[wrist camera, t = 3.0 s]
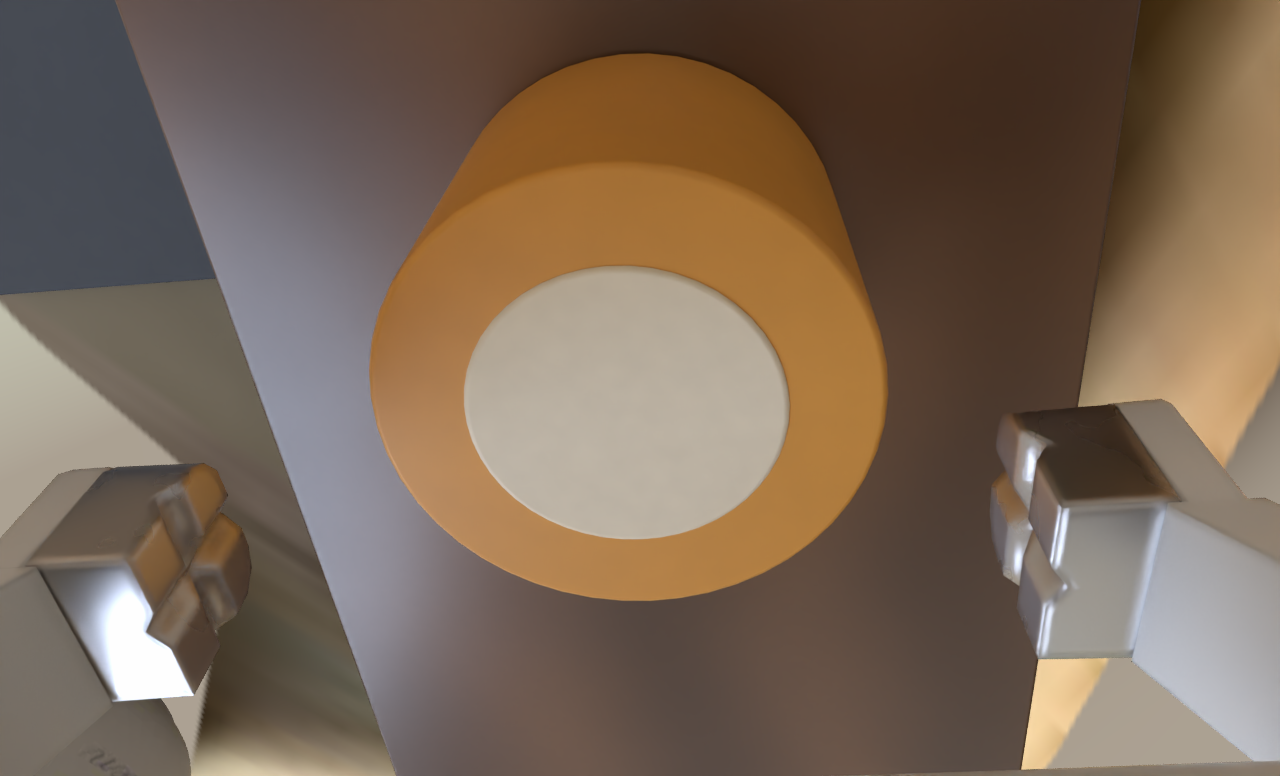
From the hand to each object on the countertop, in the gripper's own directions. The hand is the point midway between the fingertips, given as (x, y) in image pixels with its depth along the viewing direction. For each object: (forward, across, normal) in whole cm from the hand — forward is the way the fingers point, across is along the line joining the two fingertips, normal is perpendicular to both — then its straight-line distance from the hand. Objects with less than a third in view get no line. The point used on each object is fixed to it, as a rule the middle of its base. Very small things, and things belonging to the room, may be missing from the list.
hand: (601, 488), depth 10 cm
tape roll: (+6, 0, 0) cm, 6 cm away
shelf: (+18, 0, +4) cm, 18 cm away
